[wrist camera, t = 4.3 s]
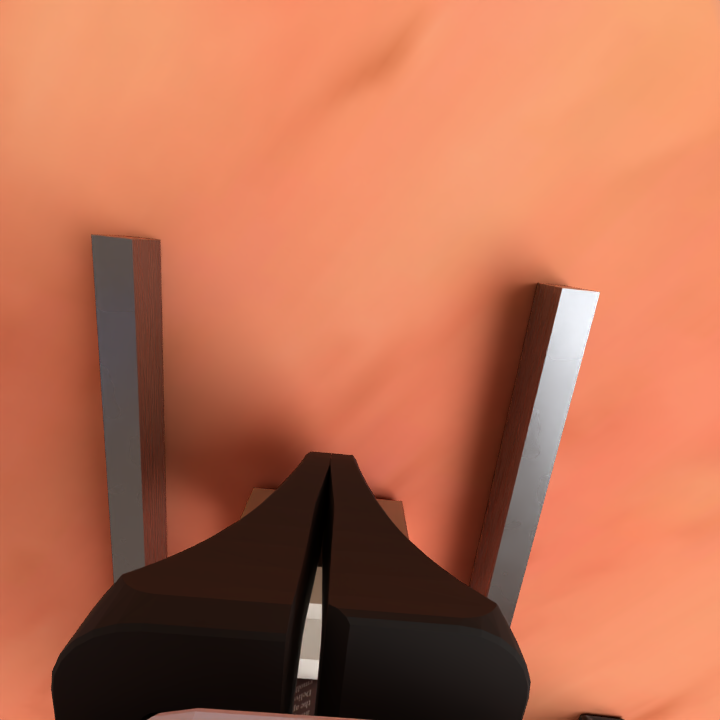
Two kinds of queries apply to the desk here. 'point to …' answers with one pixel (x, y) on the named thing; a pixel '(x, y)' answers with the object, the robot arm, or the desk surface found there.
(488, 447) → the desk surface
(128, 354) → the track
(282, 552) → the robot arm
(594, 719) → the ammunition clip
